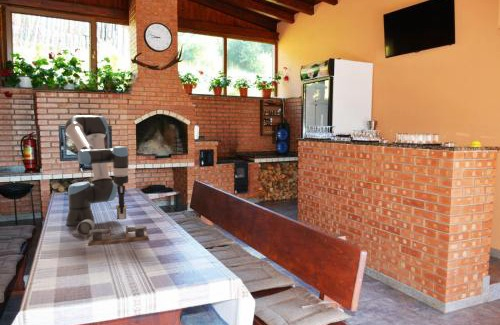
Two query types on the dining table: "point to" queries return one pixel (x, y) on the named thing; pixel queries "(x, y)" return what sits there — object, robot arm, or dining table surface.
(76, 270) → the dining table surface
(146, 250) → the dining table surface
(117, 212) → the knob
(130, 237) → the shaft bench
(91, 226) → the ceramic mug
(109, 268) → the dining table surface
